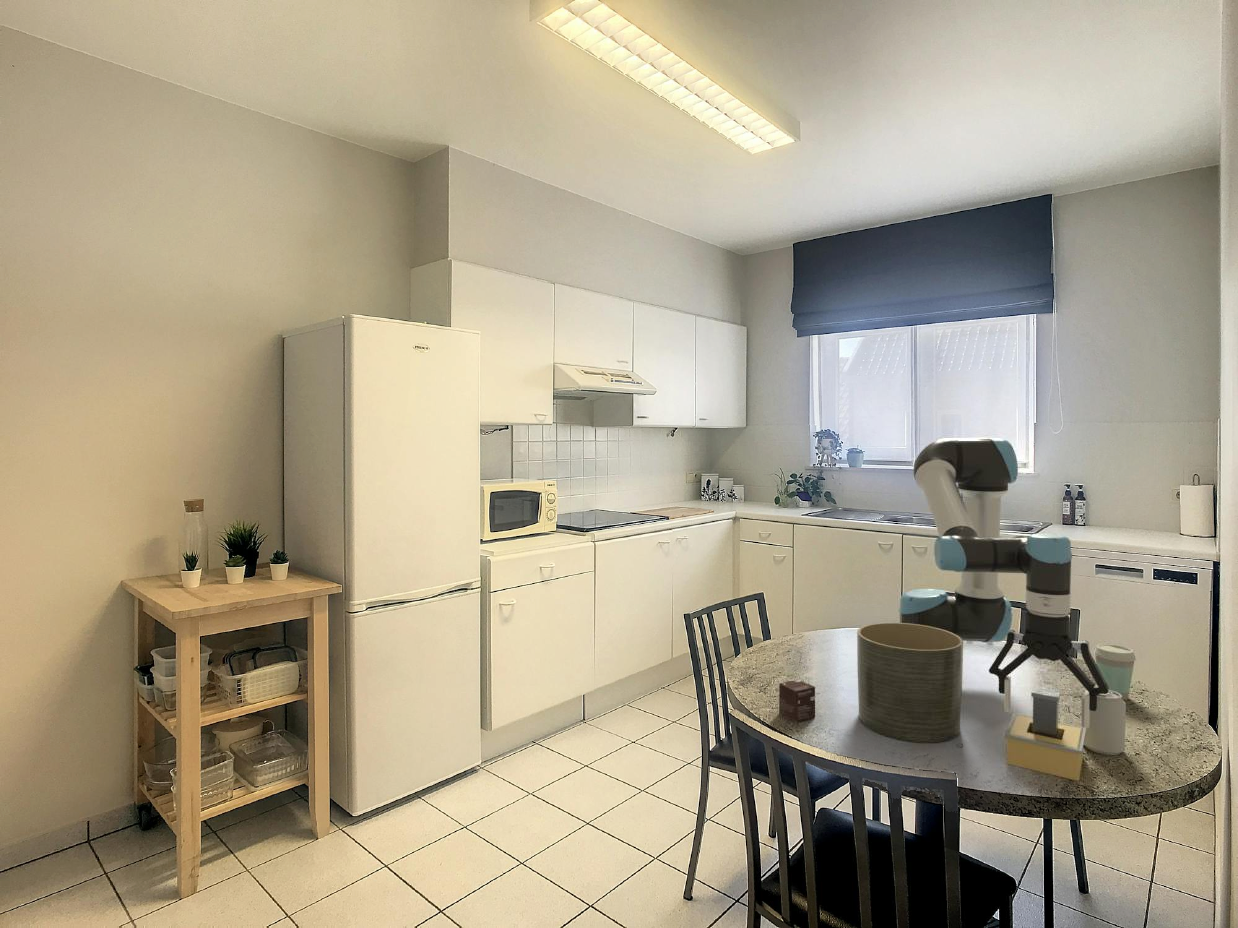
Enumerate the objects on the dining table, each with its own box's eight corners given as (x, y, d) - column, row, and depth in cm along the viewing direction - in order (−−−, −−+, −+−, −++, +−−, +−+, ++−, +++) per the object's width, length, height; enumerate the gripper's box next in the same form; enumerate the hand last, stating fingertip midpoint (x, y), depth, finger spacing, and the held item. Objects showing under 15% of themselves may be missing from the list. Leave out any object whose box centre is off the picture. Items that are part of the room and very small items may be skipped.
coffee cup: (1142, 703, 167) (1143, 654, 167) (1102, 701, 169) (1103, 652, 169) (1124, 690, 176) (1125, 644, 175) (1086, 688, 177) (1087, 642, 177)
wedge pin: (1033, 752, 142) (1034, 685, 141) (1059, 758, 139) (1060, 690, 138) (1030, 761, 138) (1031, 692, 138) (1057, 767, 135) (1058, 697, 135)
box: (795, 722, 158) (795, 691, 157) (778, 713, 163) (778, 683, 163) (815, 717, 160) (816, 686, 160) (798, 708, 166) (798, 678, 165)
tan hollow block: (1004, 763, 137) (1004, 733, 137) (1013, 740, 148) (1013, 712, 147) (1081, 782, 130) (1081, 750, 129) (1085, 756, 140) (1086, 727, 140)
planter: (947, 707, 166) (948, 624, 165) (975, 748, 144) (976, 653, 143) (851, 701, 170) (851, 620, 170) (863, 739, 149) (864, 647, 148)
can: (1072, 741, 147) (1073, 686, 146) (1105, 740, 148) (1106, 684, 147) (1099, 757, 139) (1100, 699, 139) (1134, 756, 140) (1135, 697, 140)
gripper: (974, 607, 142) (973, 708, 143) (1124, 626, 127) (1122, 739, 128) (981, 600, 148) (980, 697, 149) (1125, 617, 133) (1123, 726, 134)
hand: (1045, 717), depth 138 cm, fingers open, 13 cm apart
